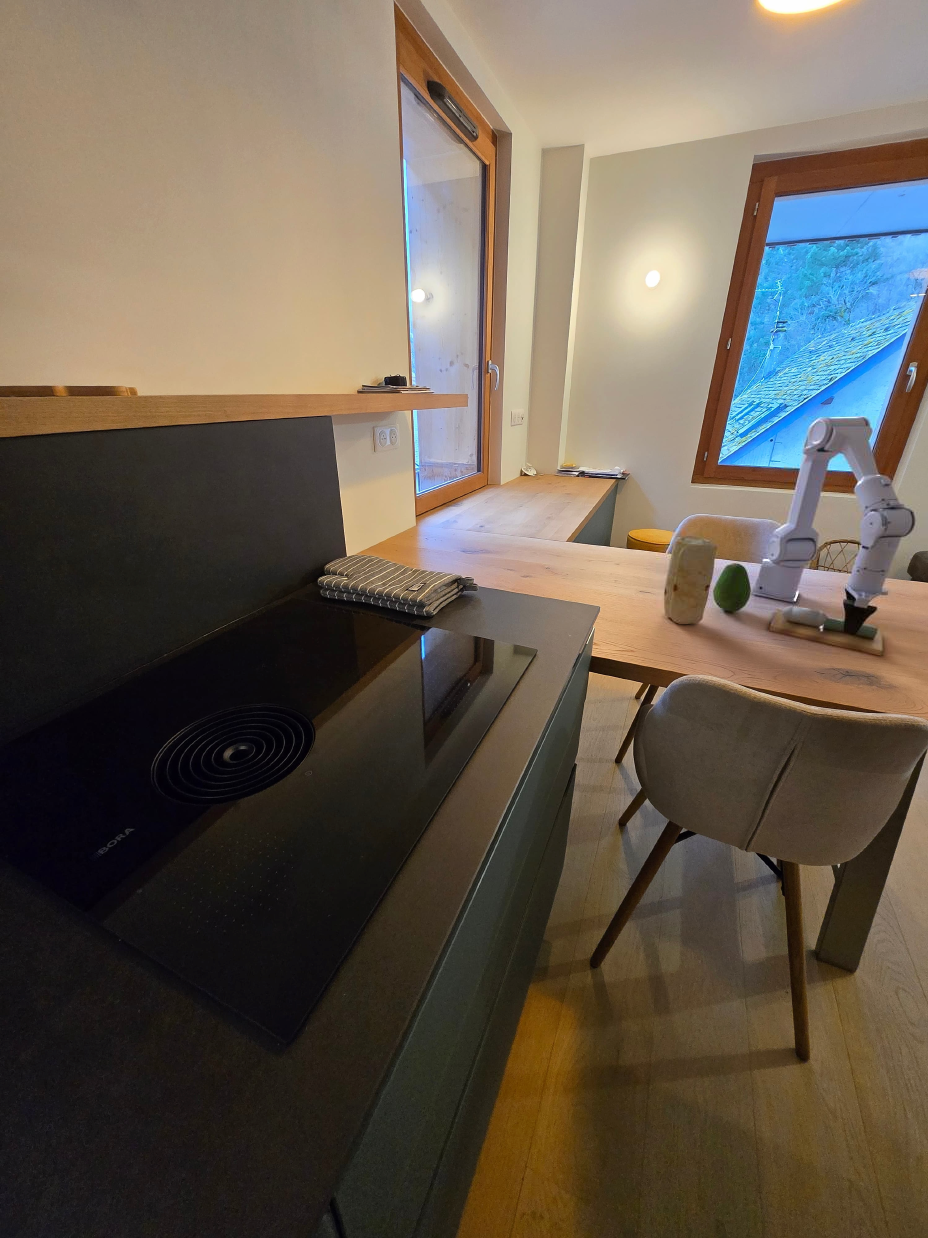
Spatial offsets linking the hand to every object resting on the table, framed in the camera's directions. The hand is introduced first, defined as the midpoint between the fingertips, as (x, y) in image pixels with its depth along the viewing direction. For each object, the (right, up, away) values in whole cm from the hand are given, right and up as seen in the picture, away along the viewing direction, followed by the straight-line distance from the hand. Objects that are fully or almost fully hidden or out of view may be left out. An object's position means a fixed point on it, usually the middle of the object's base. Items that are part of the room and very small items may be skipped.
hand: (849, 626), depth 107 cm
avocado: (-19, +4, +15) cm, 24 cm away
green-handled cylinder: (-3, 0, +3) cm, 4 cm away
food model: (-32, +1, +11) cm, 34 cm away
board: (-3, -2, +3) cm, 5 cm away
